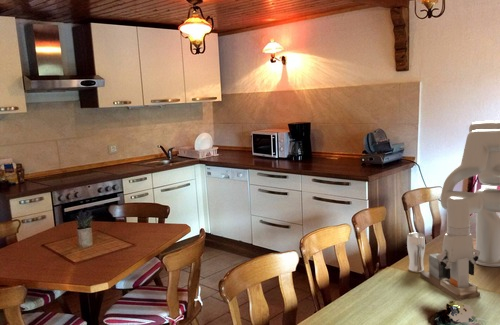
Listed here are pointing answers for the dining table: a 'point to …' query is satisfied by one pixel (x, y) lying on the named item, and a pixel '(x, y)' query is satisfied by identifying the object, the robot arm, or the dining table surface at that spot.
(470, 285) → the desk organizer
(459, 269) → the skincare box
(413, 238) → the beer glass
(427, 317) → the dining table surface
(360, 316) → the dining table surface
